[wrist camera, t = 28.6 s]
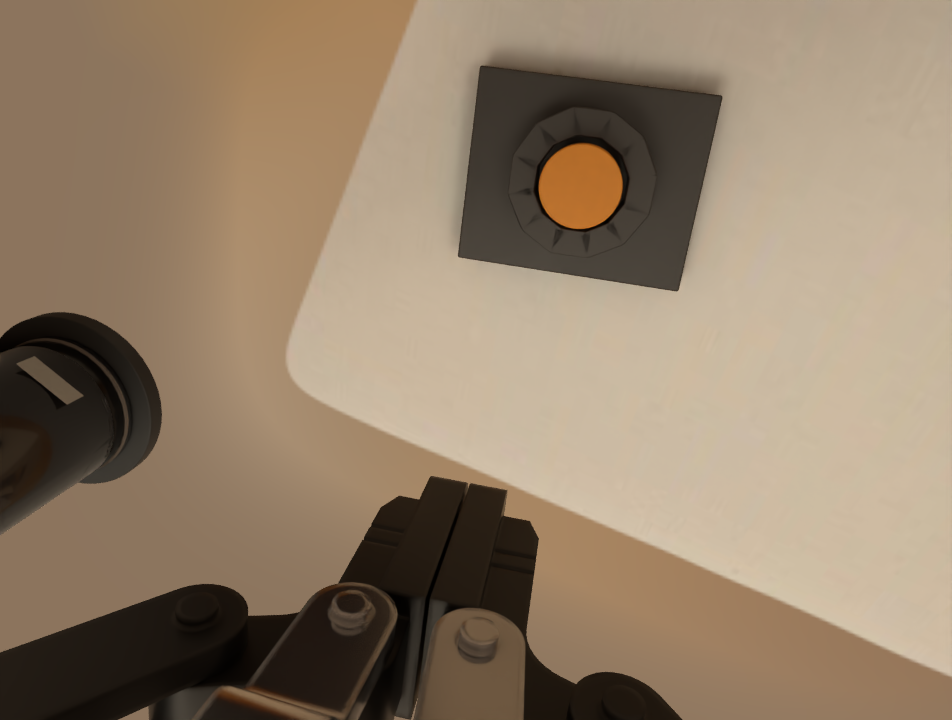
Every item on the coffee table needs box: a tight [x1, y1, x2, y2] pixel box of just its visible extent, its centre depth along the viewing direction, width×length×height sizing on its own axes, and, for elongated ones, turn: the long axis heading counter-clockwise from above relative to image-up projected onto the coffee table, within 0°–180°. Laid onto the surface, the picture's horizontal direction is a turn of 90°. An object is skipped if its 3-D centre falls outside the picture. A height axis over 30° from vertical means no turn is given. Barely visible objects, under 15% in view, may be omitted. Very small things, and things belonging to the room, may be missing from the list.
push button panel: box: [458, 66, 722, 291], centre depth 33 cm, size 11×9×4 cm
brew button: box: [539, 143, 623, 229], centre depth 31 cm, size 4×4×2 cm
